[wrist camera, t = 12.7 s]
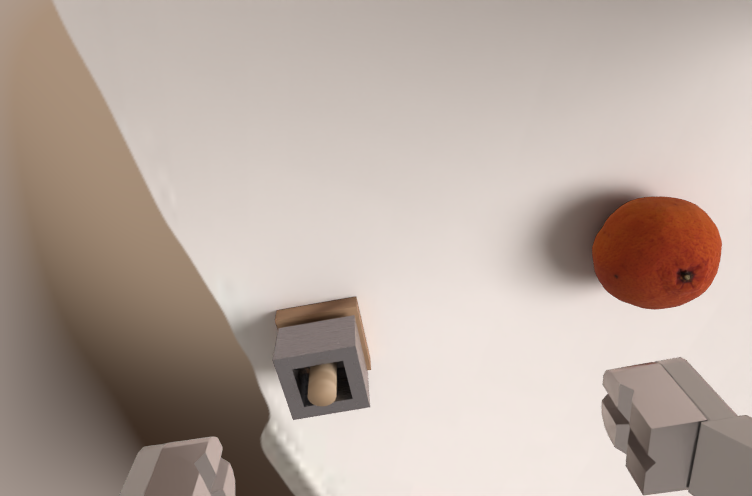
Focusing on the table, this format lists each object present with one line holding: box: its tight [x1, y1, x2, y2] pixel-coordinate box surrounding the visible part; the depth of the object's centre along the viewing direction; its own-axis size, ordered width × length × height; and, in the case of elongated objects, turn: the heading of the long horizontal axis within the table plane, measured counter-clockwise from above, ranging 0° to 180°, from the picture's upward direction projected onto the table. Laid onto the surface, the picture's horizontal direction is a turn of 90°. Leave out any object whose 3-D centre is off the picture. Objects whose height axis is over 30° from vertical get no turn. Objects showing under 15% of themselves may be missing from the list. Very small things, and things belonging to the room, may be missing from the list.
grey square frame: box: [273, 315, 370, 420], centre depth 42 cm, size 6×6×4 cm
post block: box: [275, 297, 371, 406], centre depth 42 cm, size 7×7×8 cm
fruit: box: [592, 197, 722, 309], centre depth 39 cm, size 9×9×8 cm
